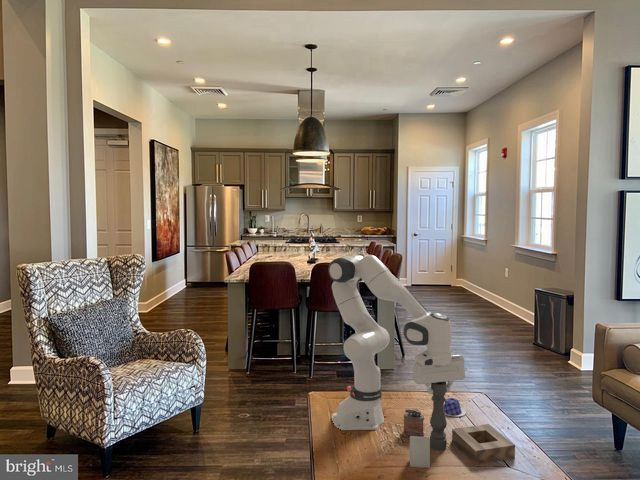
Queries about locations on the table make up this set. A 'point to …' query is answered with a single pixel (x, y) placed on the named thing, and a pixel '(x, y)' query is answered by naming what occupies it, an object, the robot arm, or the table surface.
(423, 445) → the tea bag
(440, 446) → the candle holder
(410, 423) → the lighter
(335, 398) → the table surface
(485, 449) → the walnut collar
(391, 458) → the table surface
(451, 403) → the pudding
